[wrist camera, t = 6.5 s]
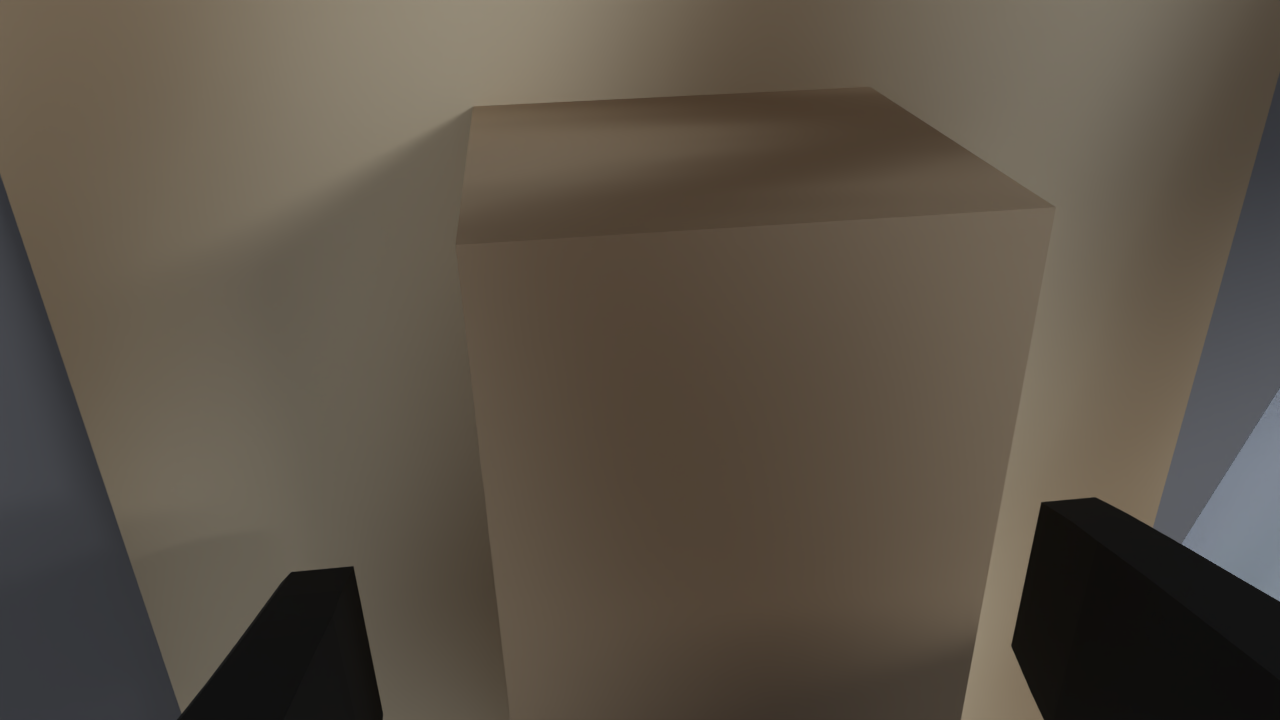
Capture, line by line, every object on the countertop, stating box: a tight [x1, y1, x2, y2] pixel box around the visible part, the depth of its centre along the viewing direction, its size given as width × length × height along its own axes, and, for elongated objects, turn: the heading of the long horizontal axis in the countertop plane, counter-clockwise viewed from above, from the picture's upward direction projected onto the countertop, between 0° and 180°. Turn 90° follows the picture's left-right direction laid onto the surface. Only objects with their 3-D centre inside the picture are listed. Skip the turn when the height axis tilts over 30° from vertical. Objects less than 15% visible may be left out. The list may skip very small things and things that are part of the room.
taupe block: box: [0, 0, 1280, 720], centre depth 10 cm, size 13×13×5 cm
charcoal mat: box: [0, 73, 1280, 720], centre depth 13 cm, size 16×16×1 cm
